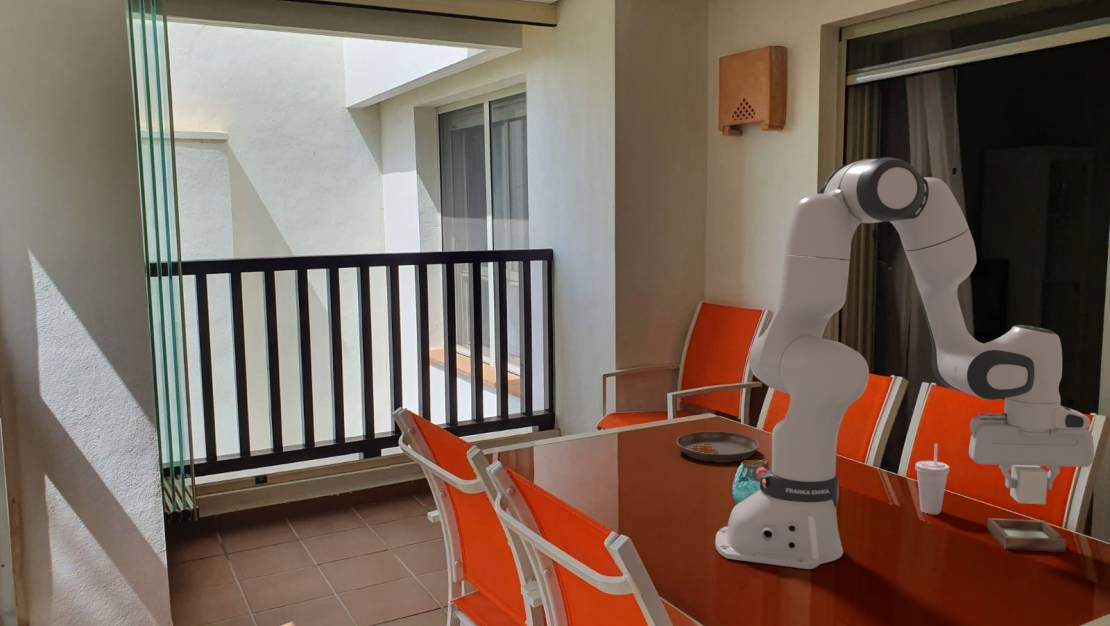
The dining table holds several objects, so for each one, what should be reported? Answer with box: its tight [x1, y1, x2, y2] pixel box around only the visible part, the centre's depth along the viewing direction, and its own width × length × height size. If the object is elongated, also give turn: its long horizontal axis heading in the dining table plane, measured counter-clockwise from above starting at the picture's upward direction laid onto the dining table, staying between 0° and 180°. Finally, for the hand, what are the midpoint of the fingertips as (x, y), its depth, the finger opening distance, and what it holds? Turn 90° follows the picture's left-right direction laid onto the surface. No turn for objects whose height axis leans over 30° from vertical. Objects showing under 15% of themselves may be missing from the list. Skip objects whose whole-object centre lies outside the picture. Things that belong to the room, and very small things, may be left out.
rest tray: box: [986, 517, 1067, 553], centre depth 157 cm, size 10×10×2 cm
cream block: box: [1009, 465, 1048, 505], centre depth 156 cm, size 4×4×6 cm
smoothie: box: [914, 443, 950, 515], centre depth 173 cm, size 6×6×14 cm
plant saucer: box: [676, 430, 760, 463], centre depth 218 cm, size 21×21×3 cm
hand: (1028, 487), depth 157 cm, fingers closed on cream block, 4 cm apart
